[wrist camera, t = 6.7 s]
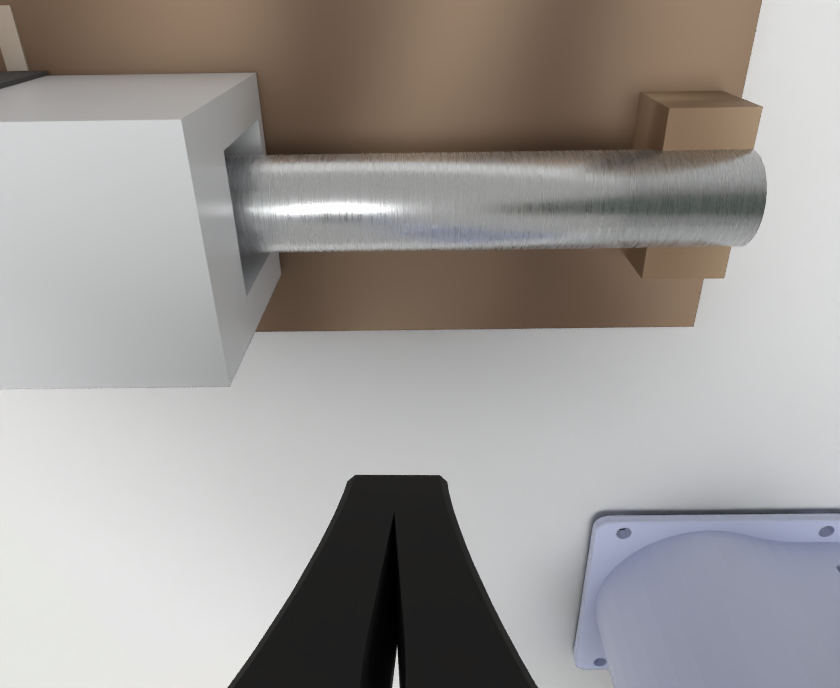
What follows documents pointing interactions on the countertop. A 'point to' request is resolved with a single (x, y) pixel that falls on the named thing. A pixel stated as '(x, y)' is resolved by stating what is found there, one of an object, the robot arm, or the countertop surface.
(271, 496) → the countertop surface
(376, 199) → the pipe
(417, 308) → the pipe stand
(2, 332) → the sleeve
